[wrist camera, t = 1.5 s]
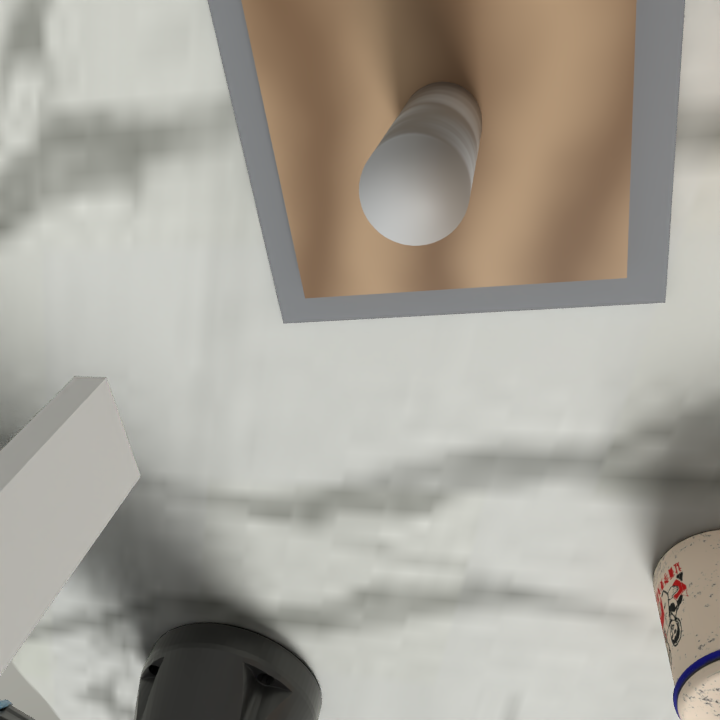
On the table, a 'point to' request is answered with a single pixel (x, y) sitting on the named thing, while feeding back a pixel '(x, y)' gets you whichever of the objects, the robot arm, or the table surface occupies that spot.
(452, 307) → the rubber mat
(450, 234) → the lid board
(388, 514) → the table surface
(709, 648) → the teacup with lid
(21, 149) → the table surface
